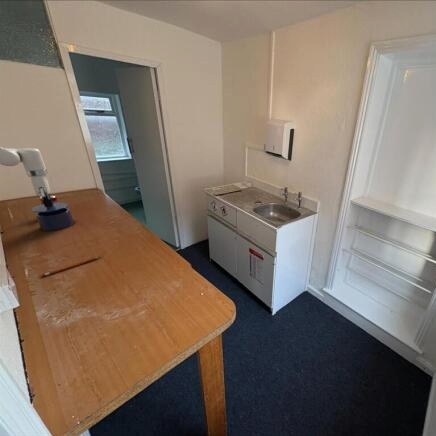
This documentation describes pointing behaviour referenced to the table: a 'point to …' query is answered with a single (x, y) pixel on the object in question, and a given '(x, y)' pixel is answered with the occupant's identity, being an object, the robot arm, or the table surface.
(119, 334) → the table surface
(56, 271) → the pencil
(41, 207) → the lid
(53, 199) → the soda can
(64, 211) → the pot
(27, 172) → the robot arm
